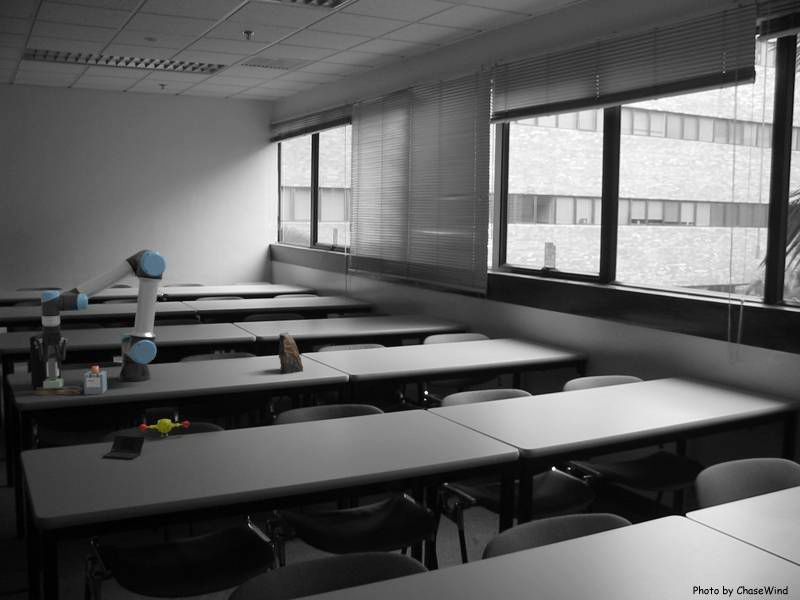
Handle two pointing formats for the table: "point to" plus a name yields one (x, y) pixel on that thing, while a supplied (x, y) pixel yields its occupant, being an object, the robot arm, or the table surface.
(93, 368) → the reset pin
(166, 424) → the toy figure
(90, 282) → the robot arm
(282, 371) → the brown rock
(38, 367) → the black upright box
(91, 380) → the gauge cabinet
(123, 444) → the black laptop
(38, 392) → the rail bed
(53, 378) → the grey post stand
